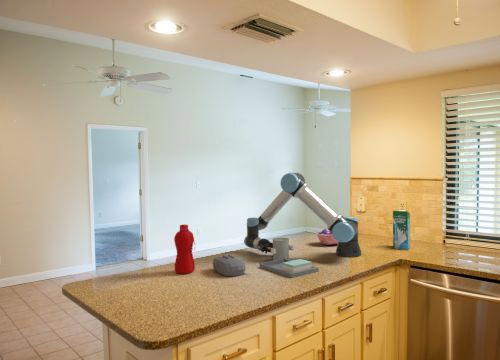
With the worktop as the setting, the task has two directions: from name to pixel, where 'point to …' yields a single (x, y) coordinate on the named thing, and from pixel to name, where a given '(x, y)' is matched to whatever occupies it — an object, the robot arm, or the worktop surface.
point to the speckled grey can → (281, 248)
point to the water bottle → (184, 251)
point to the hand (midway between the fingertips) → (284, 249)
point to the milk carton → (401, 229)
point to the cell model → (326, 237)
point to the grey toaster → (229, 265)
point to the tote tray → (278, 268)
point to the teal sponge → (296, 265)
